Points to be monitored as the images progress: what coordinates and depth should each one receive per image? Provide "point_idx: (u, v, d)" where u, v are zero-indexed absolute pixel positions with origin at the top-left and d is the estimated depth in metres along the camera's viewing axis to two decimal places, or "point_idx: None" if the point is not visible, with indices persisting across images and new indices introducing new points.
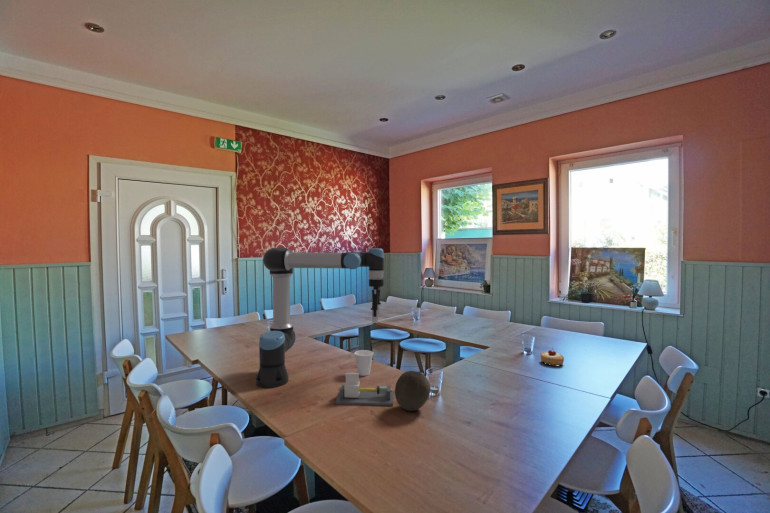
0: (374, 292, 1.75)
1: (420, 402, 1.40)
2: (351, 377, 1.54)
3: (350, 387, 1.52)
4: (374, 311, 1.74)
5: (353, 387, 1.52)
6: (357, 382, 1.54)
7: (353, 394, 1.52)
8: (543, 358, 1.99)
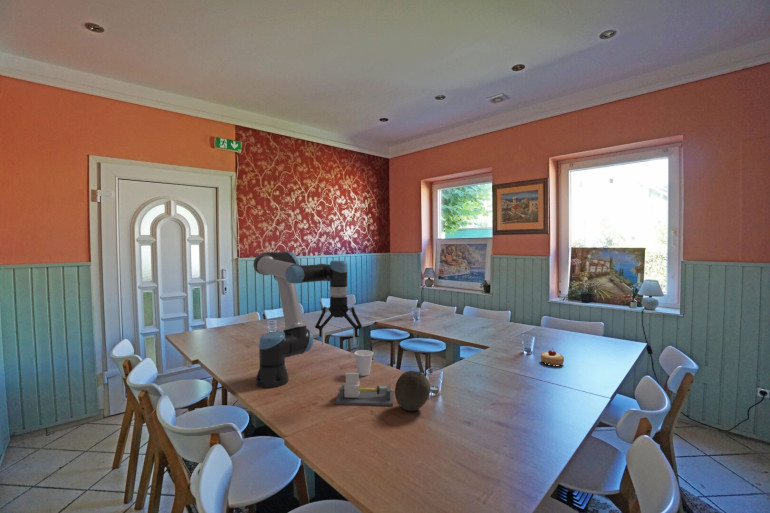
0: None
1: (420, 402, 1.40)
2: (351, 377, 1.54)
3: (350, 387, 1.52)
4: None
5: (353, 387, 1.52)
6: (357, 382, 1.54)
7: (353, 394, 1.52)
8: (543, 358, 1.99)
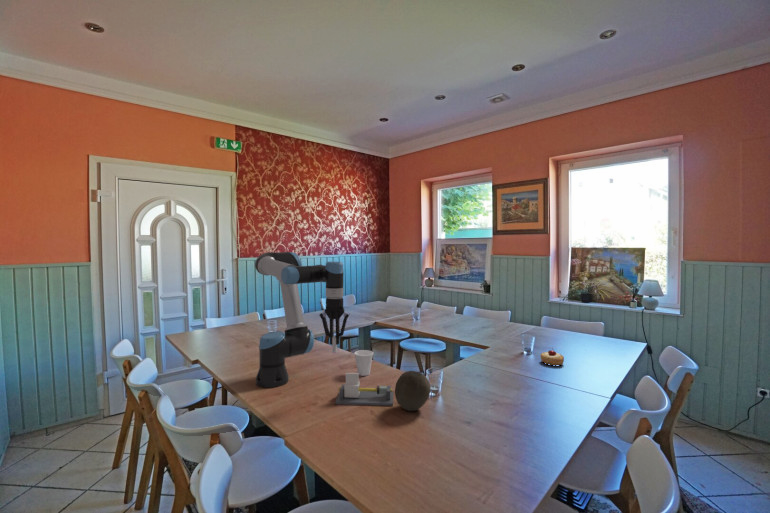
0: None
1: (420, 402, 1.40)
2: (351, 377, 1.54)
3: (350, 387, 1.52)
4: None
5: (353, 387, 1.52)
6: (357, 382, 1.54)
7: (353, 394, 1.52)
8: (543, 358, 1.99)
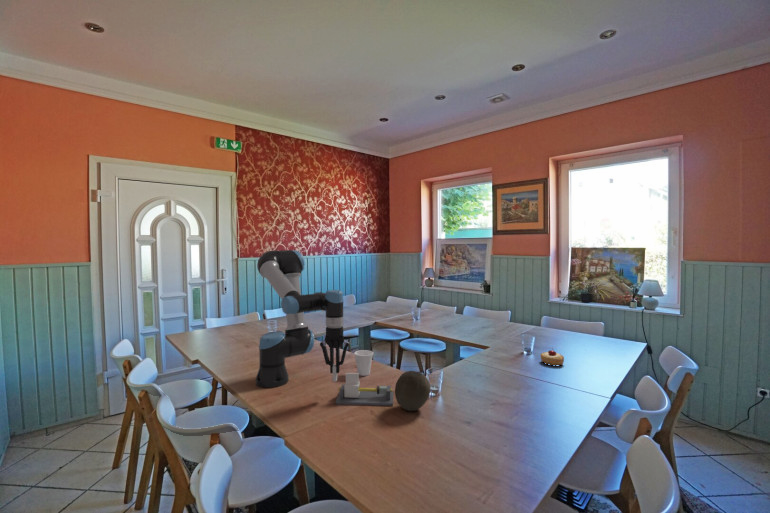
0: None
1: (420, 402, 1.40)
2: (351, 377, 1.54)
3: (350, 387, 1.52)
4: None
5: (353, 387, 1.52)
6: (357, 382, 1.54)
7: (353, 394, 1.52)
8: (543, 358, 1.99)
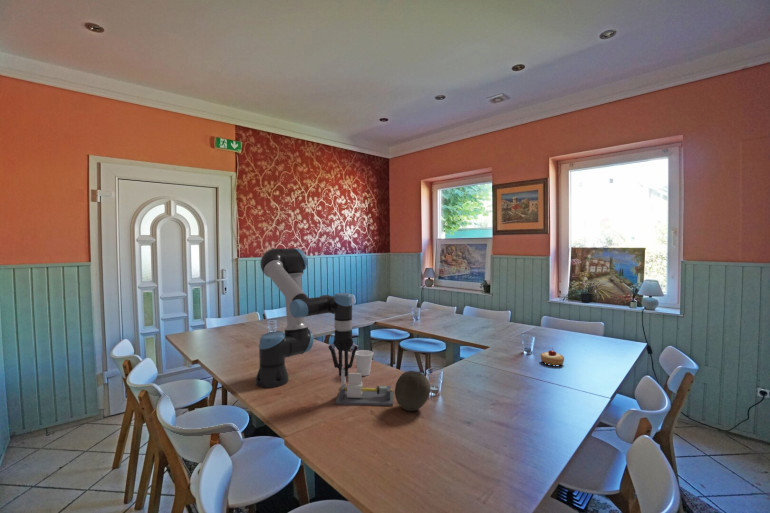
0: None
1: (420, 402, 1.40)
2: (353, 377, 1.54)
3: (353, 387, 1.52)
4: None
5: (356, 387, 1.52)
6: (360, 382, 1.54)
7: (356, 394, 1.52)
8: (543, 358, 1.99)
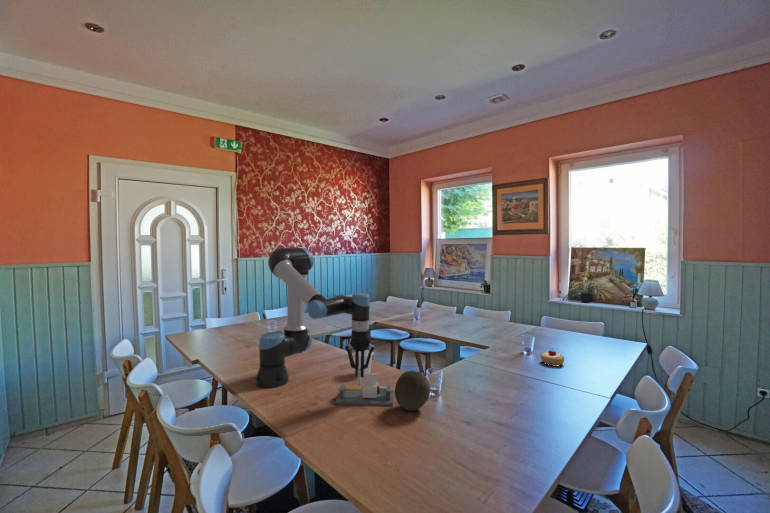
0: None
1: (420, 402, 1.40)
2: (369, 377, 1.54)
3: (368, 387, 1.52)
4: None
5: (371, 387, 1.52)
6: (375, 382, 1.54)
7: (372, 395, 1.52)
8: (543, 358, 1.99)
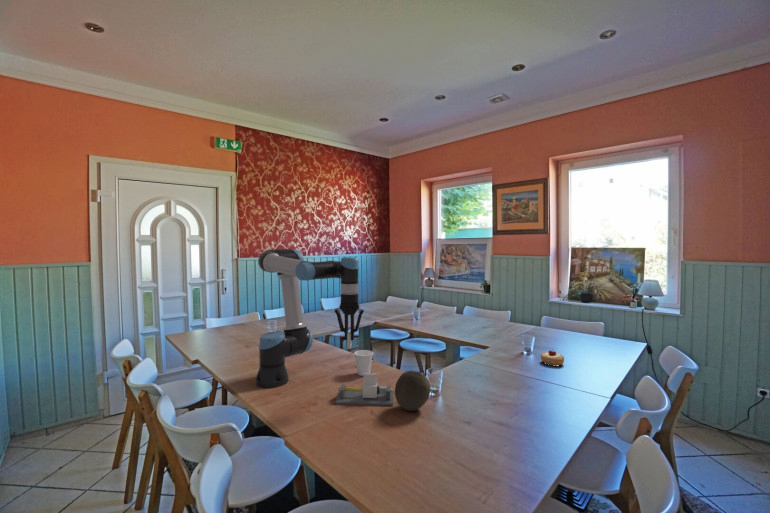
0: None
1: (420, 402, 1.40)
2: (369, 377, 1.54)
3: (368, 387, 1.52)
4: None
5: (371, 387, 1.52)
6: (375, 382, 1.54)
7: (372, 395, 1.52)
8: (543, 358, 1.99)
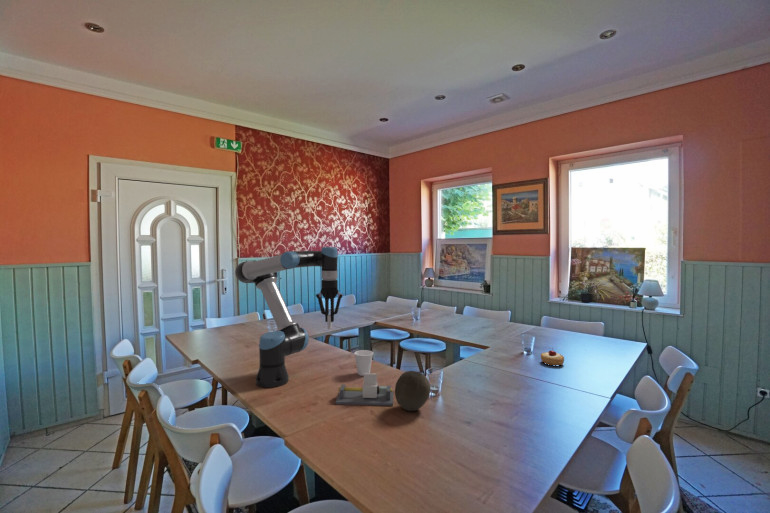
0: None
1: (420, 402, 1.40)
2: (369, 377, 1.54)
3: (368, 387, 1.52)
4: None
5: (371, 387, 1.52)
6: (375, 382, 1.54)
7: (372, 395, 1.52)
8: (543, 358, 1.99)
